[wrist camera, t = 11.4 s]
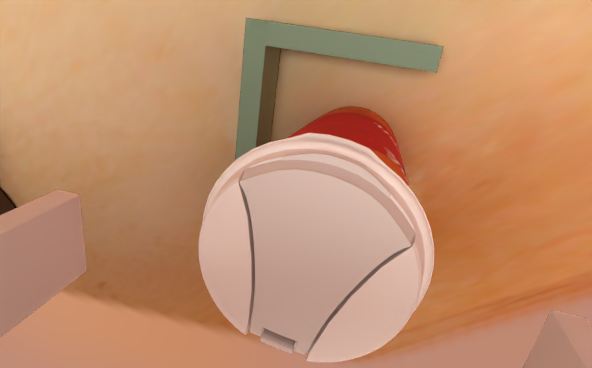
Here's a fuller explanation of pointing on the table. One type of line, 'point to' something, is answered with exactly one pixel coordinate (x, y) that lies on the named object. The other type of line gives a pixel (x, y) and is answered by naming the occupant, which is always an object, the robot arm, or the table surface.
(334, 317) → the paper cup
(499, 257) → the table surface
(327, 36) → the green pocket
